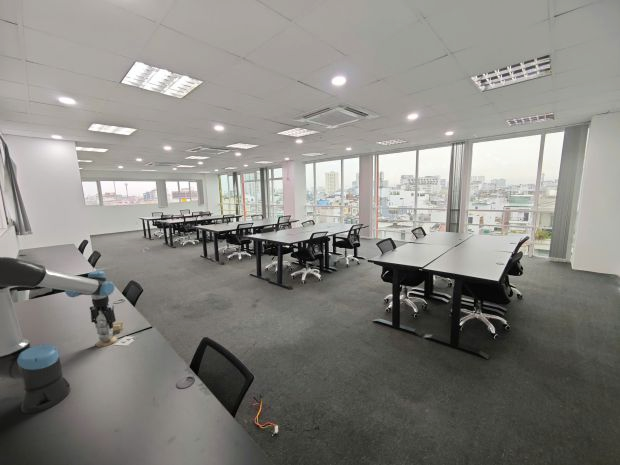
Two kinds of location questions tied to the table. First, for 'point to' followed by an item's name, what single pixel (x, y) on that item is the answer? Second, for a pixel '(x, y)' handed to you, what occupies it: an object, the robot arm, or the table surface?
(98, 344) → the cork coaster
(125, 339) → the card
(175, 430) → the table surface
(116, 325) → the oak block
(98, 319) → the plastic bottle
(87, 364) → the table surface
